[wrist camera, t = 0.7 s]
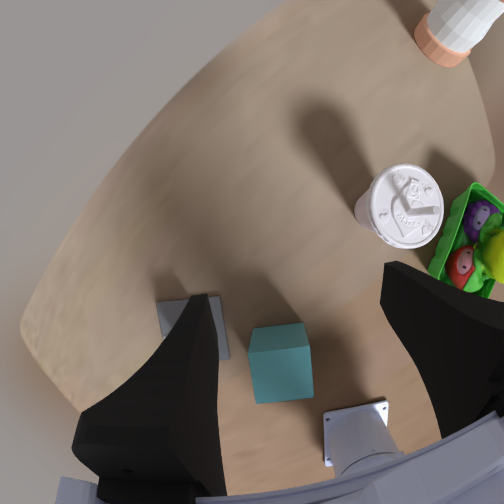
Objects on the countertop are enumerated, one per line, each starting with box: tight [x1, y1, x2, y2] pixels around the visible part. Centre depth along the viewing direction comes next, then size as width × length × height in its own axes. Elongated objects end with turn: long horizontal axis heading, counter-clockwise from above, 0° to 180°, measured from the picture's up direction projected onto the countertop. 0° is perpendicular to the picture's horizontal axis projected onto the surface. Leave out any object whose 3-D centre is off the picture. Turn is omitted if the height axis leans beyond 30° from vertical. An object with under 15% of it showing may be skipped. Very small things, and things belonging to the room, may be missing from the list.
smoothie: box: [354, 163, 444, 249], centre depth 23 cm, size 6×6×14 cm
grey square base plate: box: [156, 296, 230, 360], centre depth 29 cm, size 7×7×6 cm
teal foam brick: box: [248, 322, 314, 404], centre depth 28 cm, size 5×5×7 cm
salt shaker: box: [414, 0, 504, 67], centre depth 17 cm, size 7×7×19 cm
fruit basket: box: [427, 182, 504, 298], centre depth 24 cm, size 11×9×11 cm
